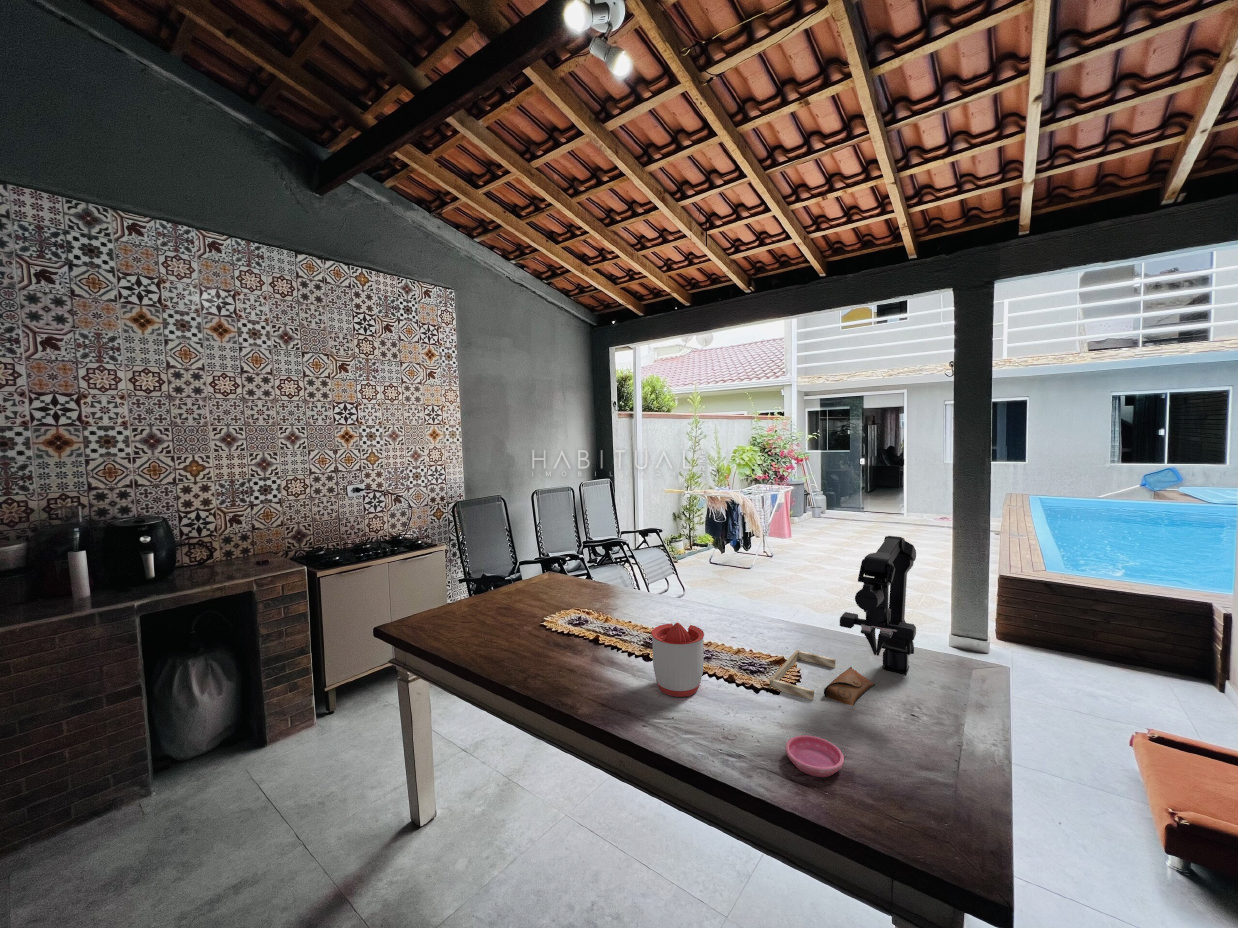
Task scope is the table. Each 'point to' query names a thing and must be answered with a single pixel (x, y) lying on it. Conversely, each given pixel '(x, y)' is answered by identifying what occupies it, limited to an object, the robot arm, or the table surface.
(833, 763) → the saucer
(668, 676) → the citrus juicer
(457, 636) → the table surface
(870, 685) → the sunglasses case
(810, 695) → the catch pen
